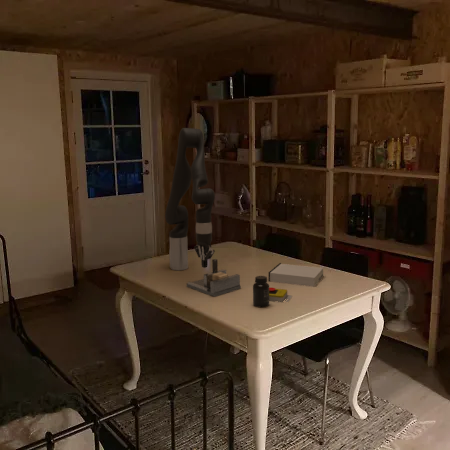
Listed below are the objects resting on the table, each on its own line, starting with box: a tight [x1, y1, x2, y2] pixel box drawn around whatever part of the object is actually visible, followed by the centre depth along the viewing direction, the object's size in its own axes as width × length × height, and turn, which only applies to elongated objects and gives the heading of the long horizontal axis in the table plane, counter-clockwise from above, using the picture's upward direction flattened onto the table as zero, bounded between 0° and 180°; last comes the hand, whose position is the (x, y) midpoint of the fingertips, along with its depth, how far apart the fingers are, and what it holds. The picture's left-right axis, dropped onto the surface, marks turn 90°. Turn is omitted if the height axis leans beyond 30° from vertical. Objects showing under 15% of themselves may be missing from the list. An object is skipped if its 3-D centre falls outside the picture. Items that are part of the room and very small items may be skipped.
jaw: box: [203, 258, 227, 288], centre depth 234 cm, size 2×12×12 cm, turn 132°
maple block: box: [213, 272, 229, 281], centre depth 232 cm, size 5×5×6 cm
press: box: [186, 273, 242, 298], centre depth 236 cm, size 20×16×6 cm
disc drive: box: [268, 262, 324, 288], centre depth 248 cm, size 18×22×5 cm
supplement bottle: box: [252, 275, 270, 308], centre depth 213 cm, size 7×7×12 cm
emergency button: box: [269, 287, 293, 303], centre depth 222 cm, size 9×4×15 cm
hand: (204, 267), depth 240 cm, fingers closed
